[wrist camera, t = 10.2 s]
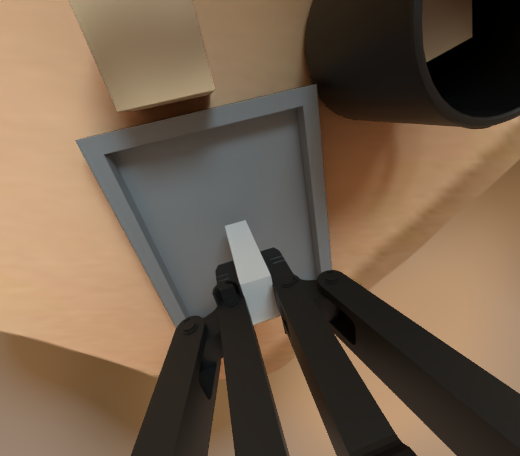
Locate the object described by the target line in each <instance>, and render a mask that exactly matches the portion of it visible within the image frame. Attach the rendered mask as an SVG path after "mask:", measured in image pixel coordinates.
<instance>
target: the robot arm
mask: <svg viewBox="0 0 520 456" xmlns="http://www.w3.org/2000/svg"><path fill="white" fill-rule="evenodd" d="M225 229H226V233H227V237H228V241H229V245H230V248H231V252H232V256H233V261H230V262H226V263H223V264H220V265H218V266H217V268H216V271H215V273H216V281H217V285H216V286H215V287H214V289H213V292H212V294H213V296H214V299H215V301H216V304H217V307H216V309H215V310H214V311H213V312H212V313H210V314H209V315H207V316H206V317H204V318H202V317H200V316H190V317H188V318H186V319H184V320H183V321H182V322H181V323H180V324H179V325H178V326H177V328H176V330H175V333H174V336H173V339H172V342H171V344H170V347H169V350H168V353H167V356H166V358H165V361H164V364H163V367H162V370H161V372H160V375H159V378H158V381H157V384H156V387H155V389H154V392H153V395H152V398H151V401H150V404H149V406H148V409H147V412H146V415H145V417H144V421H143V423H142V426H141V429H140V432H139V434H138V437H137V440H136V443H135V446H134V449H133V451H132V454H131V456H207V455H208V448H209V441H210V434H211V426H212V420H213V413H214V406H215V400H216V392H217V385H218V379H219V372H220V365H221V358H223V357H224V365H225V374H226V382H227V391H228V399H229V407H230V415H231V424H232V433H233V440H234V449H235V456H289V452H288V449H287V445H286V441H285V438H284V434H283V431H282V427H281V423H280V420H279V416H278V413H277V409H276V405H275V402H274V398H273V394H272V391H271V387H270V383H269V380H268V376H267V373H266V369H265V365H264V362H263V358H262V354H261V351H260V347H259V344H258V340H257V336H256V333H255V330H254V326H253V325H255V324H258V323H261V322H264V321H266V320H269V319H272V318H275V317H278V316H280V314H281V317H282V321H283V326H284V330H285V334H287V335H288V337H289V340H290V342H291V345H292V347H293V349H294V352H295V354H296V357H297V359H298V362H299V364H300V366H301V369H302V372H303V374H304V376H305V379H306V381H307V384H308V386H309V389H310V391H311V393H312V396H313V399H314V401H315V403H316V406H317V408H318V411H319V413H320V416H321V418H322V420H323V423H324V425H325V428H326V430H327V433H328V435H329V438H330V440H331V442H332V445H333V448H334V450H335V452H336V455H337V456H417V455H416V454H415V453H414V452H413V451H412V450H411V448H410V447H408V446H407V445H405V444H403V443H402V442H401V441H400V439H399V438H398V437H397V435H396V434H395V432H394V430H393V429H392V427H391V426H390V424H389V422H388V421H387V419H386V417H385V416H384V414H383V413H382V411H381V410H380V408H379V406H378V405H377V403H376V401H375V400H374V398H373V396H372V395H371V393H370V392H369V390H368V388H367V387H366V385H365V383H364V382H363V380H362V379H361V377H360V375H359V374H358V372H357V370H356V369H355V367H354V366H353V364H352V362H351V361H350V359H349V358H348V356H347V354H346V353H345V351H344V349H343V348H342V346H341V344H340V343H339V341H338V340H337V338H336V336H337V337H338V338H339V339H340V340H341V341H342V342H344V343H345V344H346V346H347V347H348V348H349V349H350V350H351V351H353V353H354V354H356V356H357V357H358V358H359V359H360V360H361V361H363V362H364V364H365V365H366V366H368V368H369V369H370V370H372V371H373V373H375V375H376V376H378V377H379V379H381V380H382V382H383V383H385V384H386V385H387V386H388V387H389V388H390V389H391V390H392V391H393V392H394V393H395V394H396V395H397V396H398V397H399V398H400V399H401V400H402V401H403V402H404V403H405V404H406V405H407V406H408V407H409V408H410V409H411V410H412V411H413V412H414V413H415V414H416V415H417V416H418V417H419V418H420V419H421V420H422V421H423V422H424V423H425V424H426V425H427V426H428V427H429V428H430V429H431V430H432V431H433V432H434V433H435V434H436V435H437V436H438V437H439V438H440V439H441V440H442V441H443V442H444V443H445V444H446V445H447V446H448V447H449V448H450V449H451V450H452V451H453V452H454V453H455V454H456V455H457V456H520V394H519V393H518V392H516V391H515V390H513V389H512V388H510V387H509V386H507V385H506V384H504V383H503V382H501V381H500V380H499V379H497V378H496V377H494V376H493V375H491V374H490V373H488V372H487V371H485V370H484V369H482V368H481V367H479V366H478V365H477V364H475V363H474V362H472V361H471V360H469V359H467V358H466V357H465V356H463V355H462V354H460V353H459V352H457V351H456V350H454V349H453V348H451V347H450V346H449V345H447V344H445V343H444V342H443V341H441V340H440V339H438V338H437V337H435V336H434V335H432V334H431V333H430V332H428V331H427V330H425V329H424V328H422V327H421V326H419V325H418V324H416V323H415V322H413V321H412V320H410V319H409V318H408V317H406V316H404V315H403V314H402V313H400V312H399V311H397V310H396V309H394V308H393V307H391V306H390V305H388V304H387V303H385V302H384V301H383V300H381V299H379V298H378V297H377V296H375V295H374V294H372V293H371V292H369V291H368V290H366V289H365V288H364V287H362V286H361V285H359V284H358V283H356V282H355V281H353V280H352V279H350V278H349V277H347V276H346V275H344V274H343V273H341V272H339V271H336V270H327V271H324V272H322V273H321V274H319V276H318V278H317V280H302V279H300V278H299V277H298V276H296V275H294V274H293V272H292V271H291V269H290V267H289V266H288V264H287V262H286V261H285V259H284V257H283V256H282V254H281V252H280V251H279V250H278V249H276V248H274V247H273V248H270V249H266V250H263V251H259V249H258V246H257V244H256V242H255V240H254V238H253V235H252V233H251V231H250V229H249V227H248V225H247V222H246V220H244V221H240V222H237V223H233V224H230V225H226V226H225ZM279 312H280V313H279ZM334 334H336V336H335V335H334Z"/></svg>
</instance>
